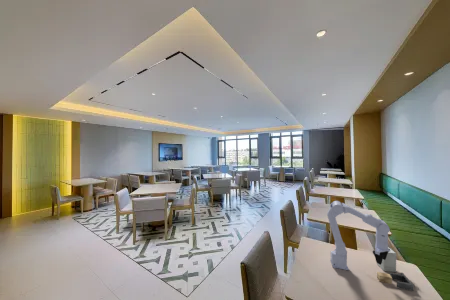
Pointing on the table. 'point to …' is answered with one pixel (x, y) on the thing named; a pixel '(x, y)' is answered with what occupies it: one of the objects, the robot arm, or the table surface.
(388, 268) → the supplement box
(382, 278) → the tan block
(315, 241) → the table surface
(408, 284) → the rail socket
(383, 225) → the robot arm
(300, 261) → the table surface
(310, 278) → the table surface
